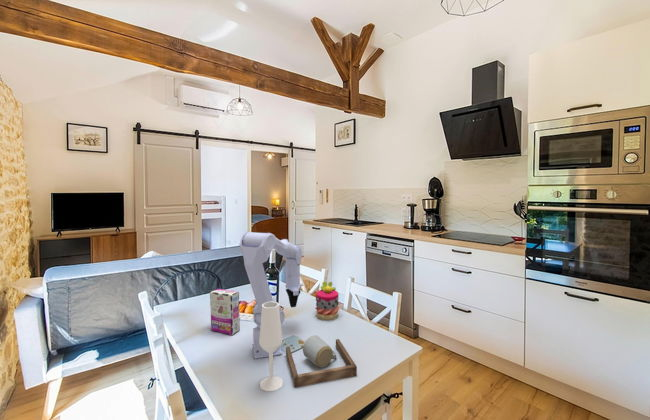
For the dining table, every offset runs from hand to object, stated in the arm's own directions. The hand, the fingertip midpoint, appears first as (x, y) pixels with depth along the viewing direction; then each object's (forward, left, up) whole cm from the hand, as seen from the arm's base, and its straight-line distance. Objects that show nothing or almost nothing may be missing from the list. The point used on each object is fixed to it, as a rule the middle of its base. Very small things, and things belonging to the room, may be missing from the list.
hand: (293, 306), depth 119 cm
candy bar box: (-27, +6, -10) cm, 29 cm away
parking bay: (+4, -27, -9) cm, 28 cm away
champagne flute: (-12, -32, -10) cm, 35 cm away
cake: (+17, +8, -10) cm, 21 cm away
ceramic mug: (+5, -25, -10) cm, 27 cm away
